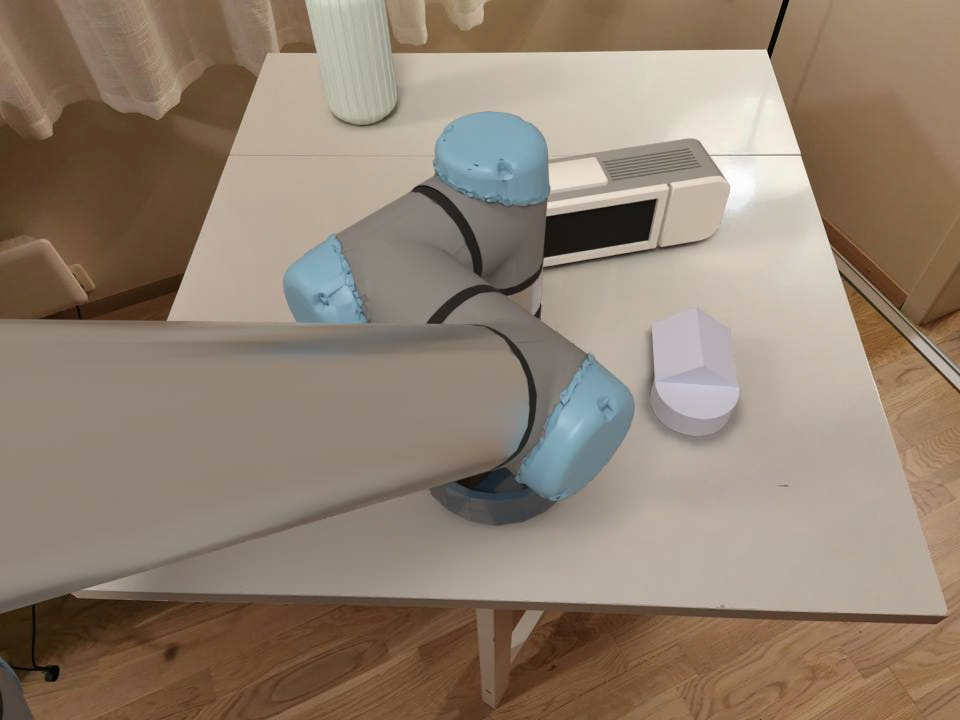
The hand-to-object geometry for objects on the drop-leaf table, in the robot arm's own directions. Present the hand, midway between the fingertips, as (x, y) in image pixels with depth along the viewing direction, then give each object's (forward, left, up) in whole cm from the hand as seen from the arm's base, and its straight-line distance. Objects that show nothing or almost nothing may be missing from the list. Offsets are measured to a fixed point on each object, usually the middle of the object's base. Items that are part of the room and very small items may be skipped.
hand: (497, 447), depth 75 cm
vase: (+31, +63, -2) cm, 70 cm away
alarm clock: (+35, +14, -2) cm, 38 cm away
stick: (0, 0, -1) cm, 1 cm away
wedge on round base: (+22, -9, -2) cm, 24 cm away
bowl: (0, 0, -2) cm, 2 cm away
